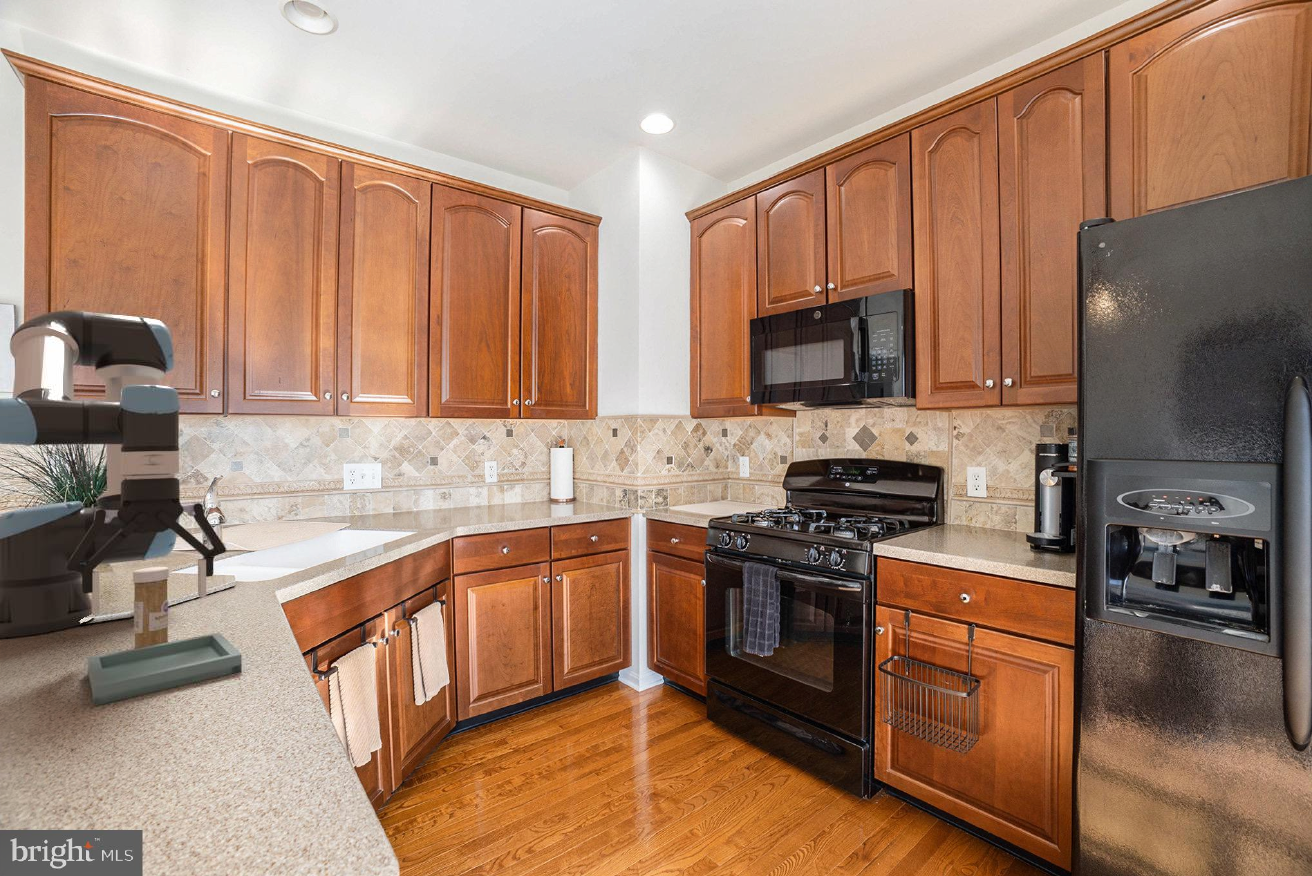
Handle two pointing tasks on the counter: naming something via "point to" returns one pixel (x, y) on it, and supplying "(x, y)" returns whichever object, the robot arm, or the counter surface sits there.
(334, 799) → the counter surface
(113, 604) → the counter surface
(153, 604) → the sprinkles bottle
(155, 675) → the tray
